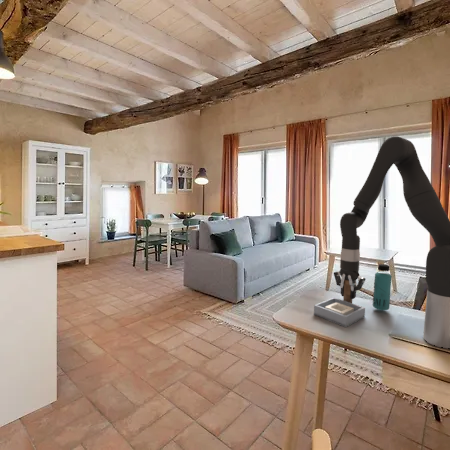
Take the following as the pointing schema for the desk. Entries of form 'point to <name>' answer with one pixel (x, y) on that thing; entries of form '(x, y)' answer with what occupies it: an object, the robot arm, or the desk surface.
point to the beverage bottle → (382, 288)
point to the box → (339, 311)
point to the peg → (347, 292)
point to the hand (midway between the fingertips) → (347, 297)
